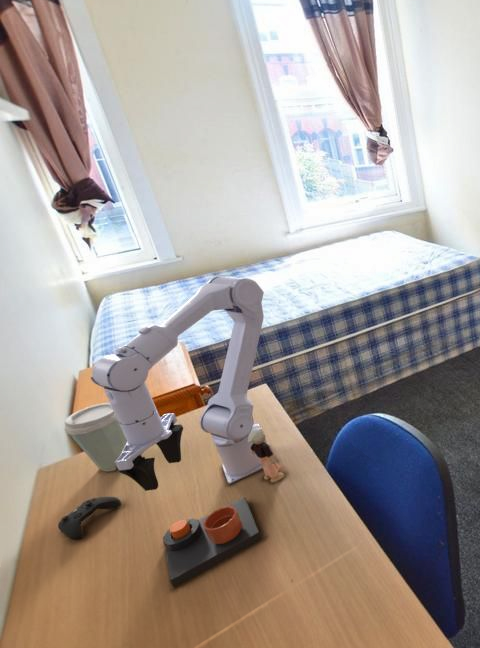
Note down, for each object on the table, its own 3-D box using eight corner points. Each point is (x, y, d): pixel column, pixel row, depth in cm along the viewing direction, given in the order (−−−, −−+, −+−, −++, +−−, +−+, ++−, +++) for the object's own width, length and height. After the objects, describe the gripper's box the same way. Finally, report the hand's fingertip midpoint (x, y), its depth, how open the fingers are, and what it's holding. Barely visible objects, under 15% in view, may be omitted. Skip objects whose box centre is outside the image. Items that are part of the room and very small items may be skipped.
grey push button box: (248, 503, 96) (242, 490, 95) (261, 539, 87) (256, 525, 86) (167, 544, 88) (160, 530, 87) (174, 588, 79) (166, 574, 78)
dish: (204, 541, 85) (196, 525, 84) (229, 519, 90) (222, 503, 88) (225, 548, 84) (217, 532, 82) (249, 525, 88) (242, 509, 86)
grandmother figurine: (292, 472, 103) (275, 426, 98) (279, 485, 100) (261, 437, 95) (265, 466, 106) (248, 421, 101) (252, 479, 103) (233, 432, 97)
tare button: (189, 523, 88) (186, 516, 87) (191, 532, 86) (188, 525, 85) (172, 532, 87) (168, 525, 86) (173, 541, 85) (170, 534, 84)
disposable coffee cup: (119, 447, 118) (93, 397, 112) (156, 448, 116) (131, 397, 110) (78, 478, 108) (47, 425, 102) (118, 479, 106) (88, 426, 101)
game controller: (78, 539, 90) (50, 521, 89) (72, 551, 92) (45, 533, 91) (125, 500, 99) (100, 483, 98) (118, 512, 101) (94, 496, 100)
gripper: (135, 437, 79) (163, 499, 84) (182, 392, 93) (204, 448, 98) (91, 442, 79) (122, 504, 84) (145, 396, 92) (169, 452, 97)
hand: (163, 474), depth 91 cm, fingers open, 7 cm apart
